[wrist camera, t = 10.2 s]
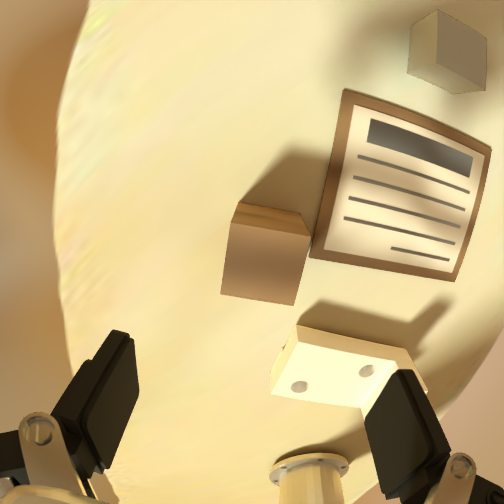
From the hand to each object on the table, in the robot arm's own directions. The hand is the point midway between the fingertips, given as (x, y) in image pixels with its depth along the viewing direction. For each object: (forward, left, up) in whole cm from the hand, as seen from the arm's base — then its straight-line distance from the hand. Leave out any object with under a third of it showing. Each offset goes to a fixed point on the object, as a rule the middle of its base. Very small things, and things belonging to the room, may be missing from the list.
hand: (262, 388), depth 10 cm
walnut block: (0, 0, -16) cm, 16 cm away
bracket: (-12, -10, -17) cm, 23 cm away
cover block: (+16, -12, -14) cm, 24 cm away
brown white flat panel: (+6, -12, -16) cm, 21 cm away
